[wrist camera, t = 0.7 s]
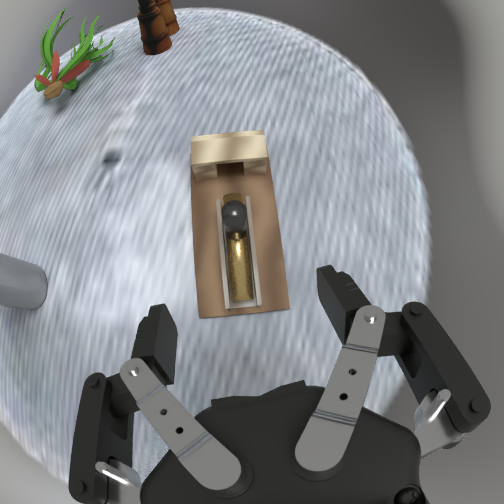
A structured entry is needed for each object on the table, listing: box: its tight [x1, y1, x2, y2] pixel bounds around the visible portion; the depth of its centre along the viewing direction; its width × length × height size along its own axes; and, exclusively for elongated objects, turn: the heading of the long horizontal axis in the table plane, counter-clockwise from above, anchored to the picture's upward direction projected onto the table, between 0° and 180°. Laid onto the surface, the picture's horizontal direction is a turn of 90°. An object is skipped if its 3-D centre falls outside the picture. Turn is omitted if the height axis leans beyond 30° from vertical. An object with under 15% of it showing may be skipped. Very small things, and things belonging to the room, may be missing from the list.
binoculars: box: [137, 0, 179, 55], centre depth 48 cm, size 18×8×20 cm, turn 178°
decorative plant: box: [35, 8, 115, 99], centre depth 44 cm, size 26×25×30 cm
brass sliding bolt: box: [221, 193, 254, 301], centre depth 37 cm, size 3×16×11 cm, turn 6°
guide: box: [191, 130, 290, 318], centre depth 42 cm, size 14×29×7 cm, turn 6°
